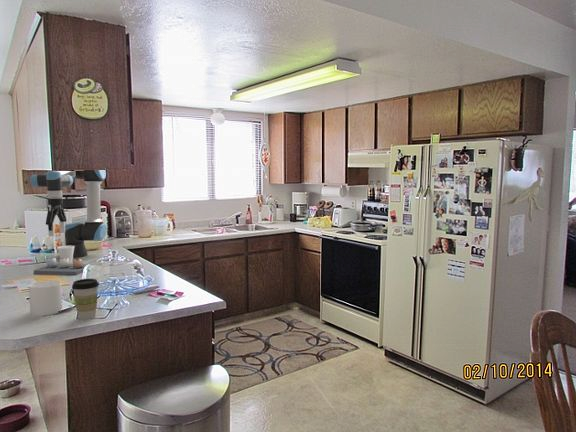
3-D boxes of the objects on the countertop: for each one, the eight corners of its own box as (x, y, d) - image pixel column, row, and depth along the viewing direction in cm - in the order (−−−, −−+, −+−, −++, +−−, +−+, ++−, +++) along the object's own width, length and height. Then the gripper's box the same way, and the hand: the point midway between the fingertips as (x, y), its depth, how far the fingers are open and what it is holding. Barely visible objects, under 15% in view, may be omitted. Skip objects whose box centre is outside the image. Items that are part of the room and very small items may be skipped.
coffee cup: (88, 322, 163) (86, 285, 161) (67, 320, 165) (65, 283, 164) (105, 314, 172) (104, 279, 170) (86, 312, 175) (84, 277, 173)
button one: (50, 265, 249) (50, 257, 249) (58, 265, 249) (57, 257, 248) (45, 266, 245) (44, 259, 244) (53, 267, 244) (52, 259, 244)
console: (54, 266, 256) (53, 263, 256) (94, 267, 254) (94, 264, 254) (33, 273, 239) (33, 270, 238) (76, 275, 236) (76, 271, 236)
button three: (76, 265, 248) (75, 258, 247) (83, 265, 247) (83, 258, 247) (71, 267, 243) (70, 259, 243) (78, 267, 243) (78, 259, 242)
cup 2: (78, 262, 268) (77, 245, 267) (69, 265, 259) (68, 248, 257) (64, 262, 269) (63, 245, 268) (54, 265, 260) (53, 248, 258)
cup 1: (54, 305, 184) (52, 278, 182) (67, 310, 177) (66, 283, 176) (25, 312, 174) (23, 284, 173) (38, 318, 167) (36, 289, 166)
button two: (63, 265, 249) (62, 257, 248) (70, 265, 248) (70, 257, 248) (58, 267, 244) (57, 259, 243) (65, 267, 243) (65, 259, 243)
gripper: (58, 196, 252) (60, 231, 254) (37, 199, 227) (39, 237, 229) (71, 196, 252) (73, 231, 255) (51, 199, 228) (53, 237, 230)
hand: (57, 234), depth 242 cm, fingers open, 13 cm apart
